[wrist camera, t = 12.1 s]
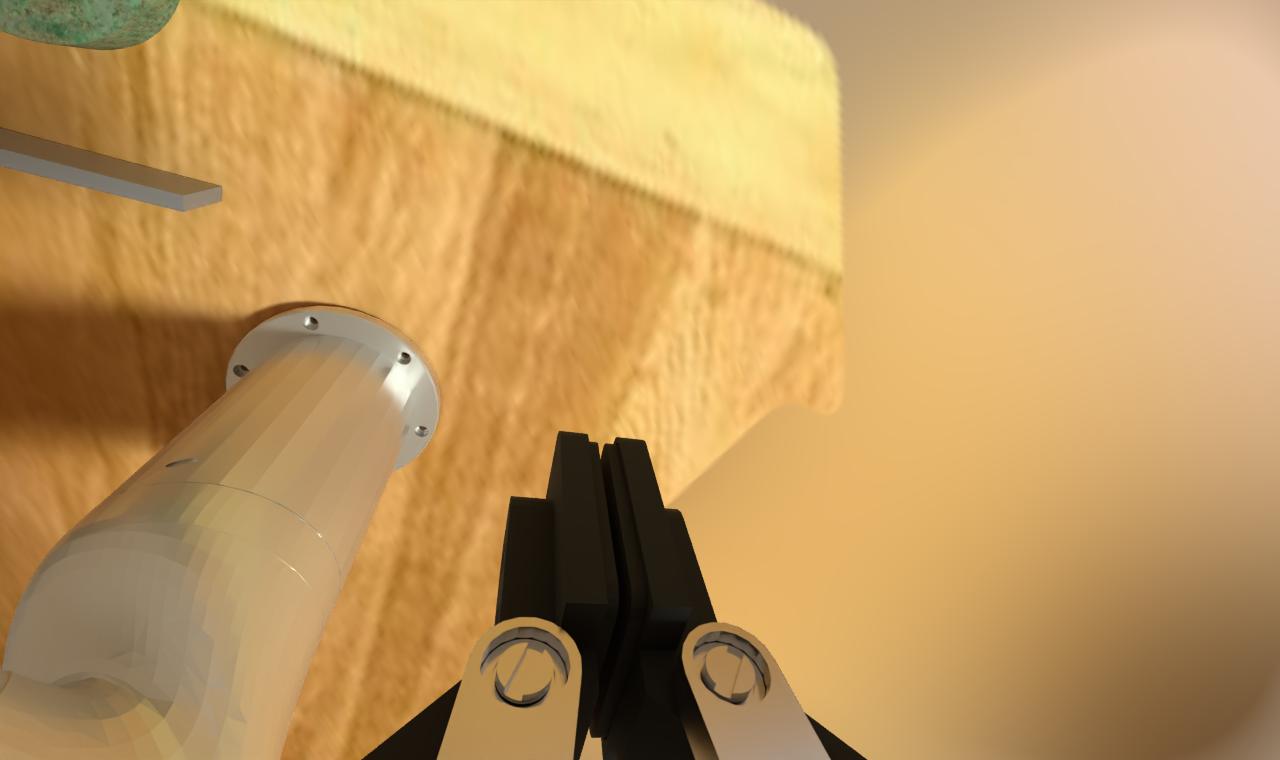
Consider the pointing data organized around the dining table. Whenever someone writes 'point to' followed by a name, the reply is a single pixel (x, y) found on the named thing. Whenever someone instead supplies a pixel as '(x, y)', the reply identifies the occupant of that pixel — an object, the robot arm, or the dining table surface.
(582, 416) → the dining table surface
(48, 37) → the decorative artifact
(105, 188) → the box
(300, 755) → the dining table surface
